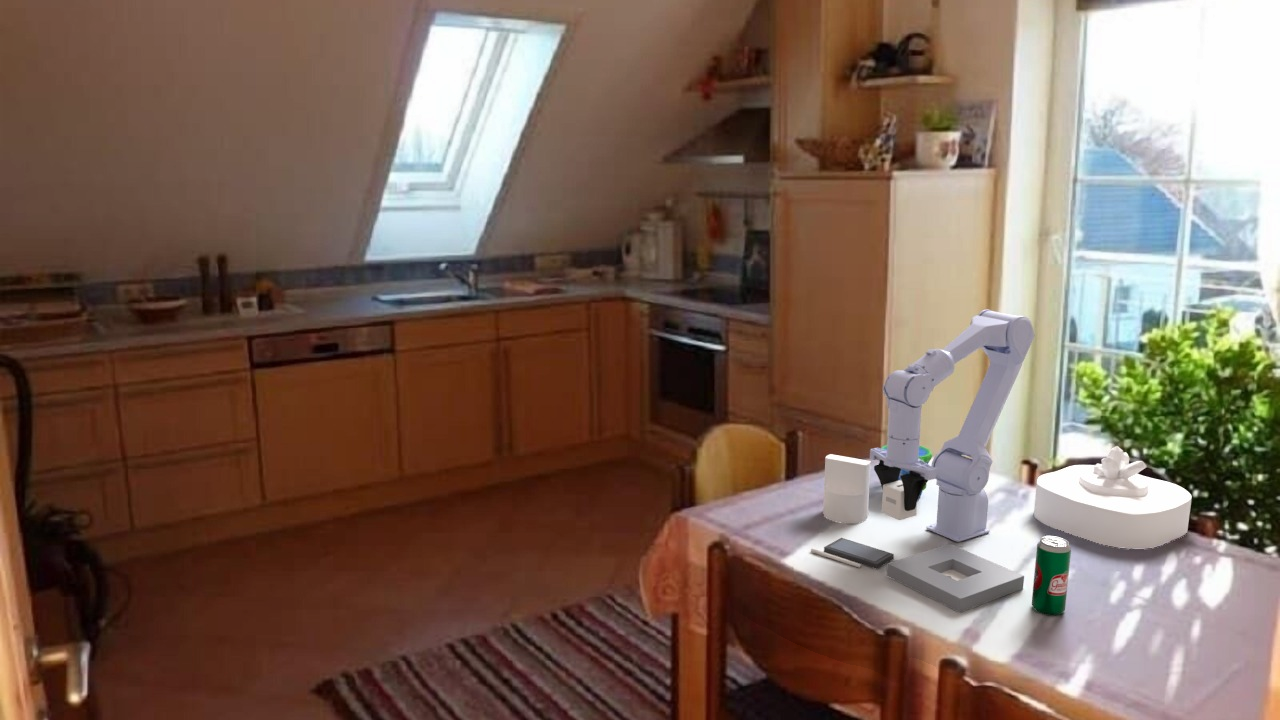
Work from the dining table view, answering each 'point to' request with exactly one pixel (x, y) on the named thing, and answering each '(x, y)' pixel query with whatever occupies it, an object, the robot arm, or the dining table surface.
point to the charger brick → (895, 501)
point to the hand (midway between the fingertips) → (899, 505)
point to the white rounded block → (846, 489)
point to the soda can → (1051, 575)
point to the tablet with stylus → (855, 554)
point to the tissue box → (1112, 503)
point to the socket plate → (955, 577)
